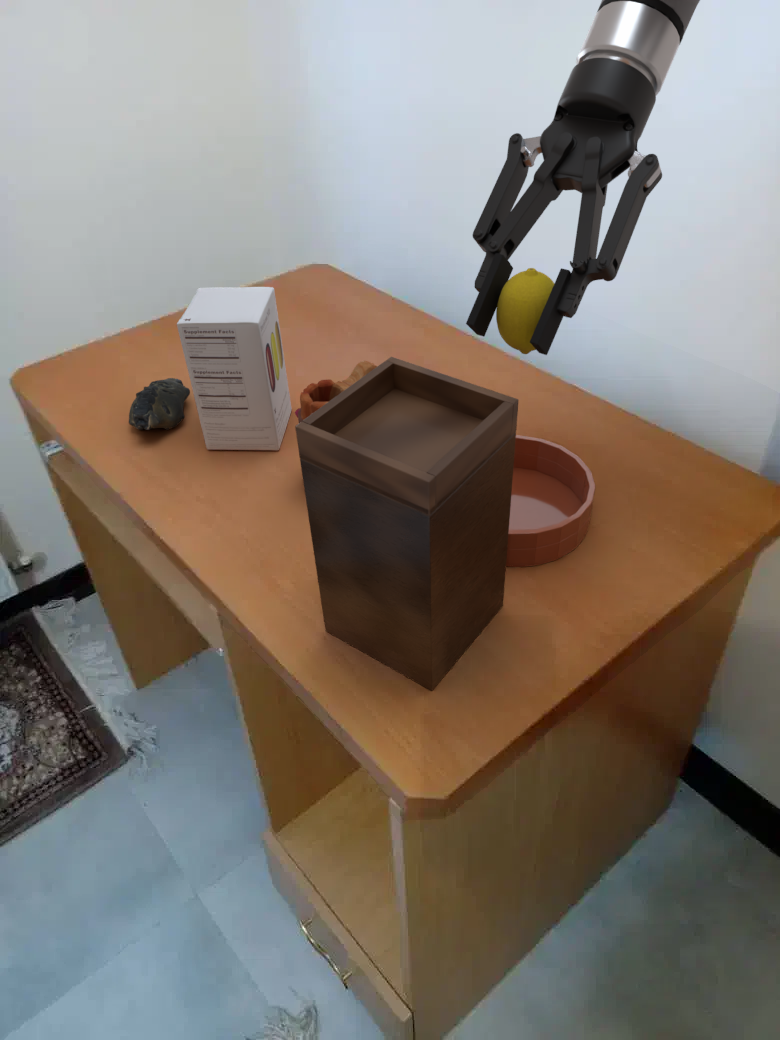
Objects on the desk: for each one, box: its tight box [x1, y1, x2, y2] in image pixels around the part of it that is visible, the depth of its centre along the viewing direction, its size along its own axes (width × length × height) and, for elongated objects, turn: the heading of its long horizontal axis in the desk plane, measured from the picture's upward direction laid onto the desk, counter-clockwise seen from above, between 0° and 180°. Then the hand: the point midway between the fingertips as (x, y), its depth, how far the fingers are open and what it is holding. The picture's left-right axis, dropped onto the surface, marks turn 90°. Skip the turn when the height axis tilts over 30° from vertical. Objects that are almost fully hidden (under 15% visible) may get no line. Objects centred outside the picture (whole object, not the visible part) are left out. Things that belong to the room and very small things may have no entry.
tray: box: [294, 356, 520, 515], centre depth 60 cm, size 12×12×3 cm
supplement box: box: [176, 286, 293, 451], centre depth 93 cm, size 10×9×17 cm
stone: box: [128, 377, 191, 431], centre depth 100 cm, size 7×13×5 cm, turn 177°
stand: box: [299, 431, 517, 692], centre depth 67 cm, size 12×12×20 cm
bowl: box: [506, 434, 596, 568], centre depth 83 cm, size 16×16×4 cm
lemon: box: [495, 267, 555, 355], centre depth 69 cm, size 6×6×8 cm
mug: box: [294, 360, 378, 424], centre depth 87 cm, size 12×7×13 cm, turn 133°
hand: (506, 338), depth 68 cm, fingers closed on lemon, 5 cm apart
